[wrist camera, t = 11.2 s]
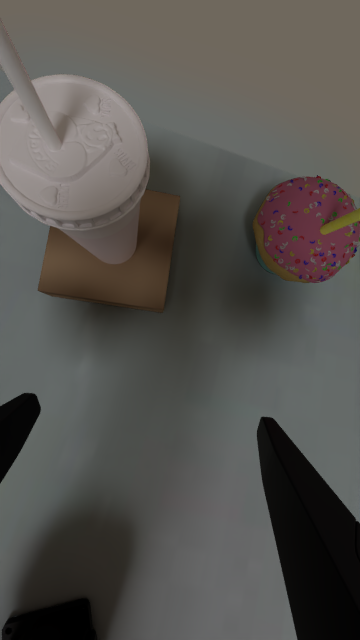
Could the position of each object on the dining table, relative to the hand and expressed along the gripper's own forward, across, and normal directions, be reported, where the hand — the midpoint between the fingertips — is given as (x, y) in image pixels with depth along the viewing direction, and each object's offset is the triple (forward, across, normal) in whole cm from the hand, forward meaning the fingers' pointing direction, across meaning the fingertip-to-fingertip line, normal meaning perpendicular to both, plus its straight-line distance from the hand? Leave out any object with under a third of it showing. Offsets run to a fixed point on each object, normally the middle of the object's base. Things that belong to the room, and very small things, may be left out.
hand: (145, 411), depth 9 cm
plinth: (+15, +6, -3) cm, 16 cm away
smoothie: (+13, +6, -4) cm, 15 cm away
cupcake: (+18, -9, -3) cm, 21 cm away
